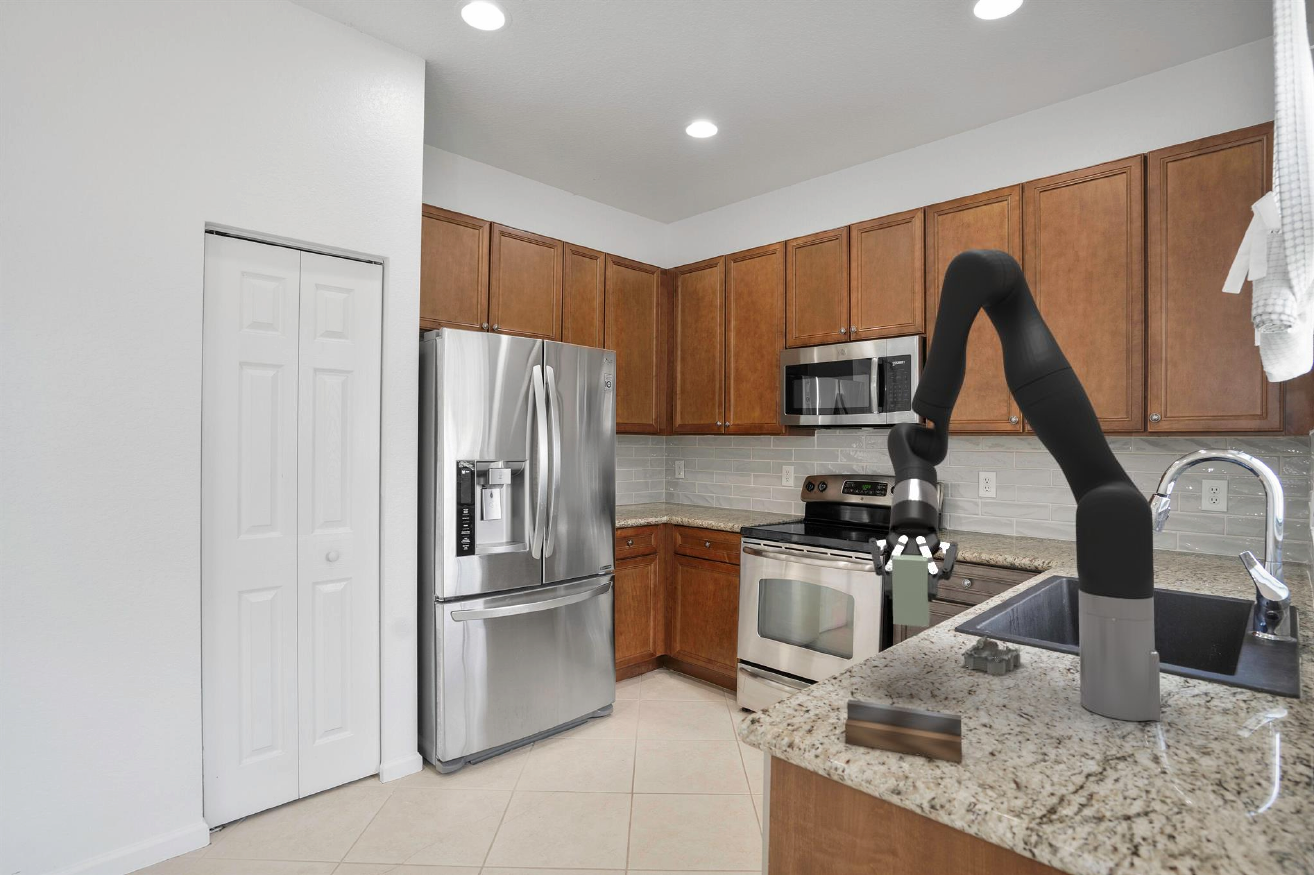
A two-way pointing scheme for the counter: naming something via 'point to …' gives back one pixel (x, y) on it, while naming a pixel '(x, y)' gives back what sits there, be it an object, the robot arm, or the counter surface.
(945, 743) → the dock
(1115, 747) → the counter surface
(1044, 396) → the robot arm
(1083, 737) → the counter surface
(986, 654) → the grey scalloped block
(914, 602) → the green block
